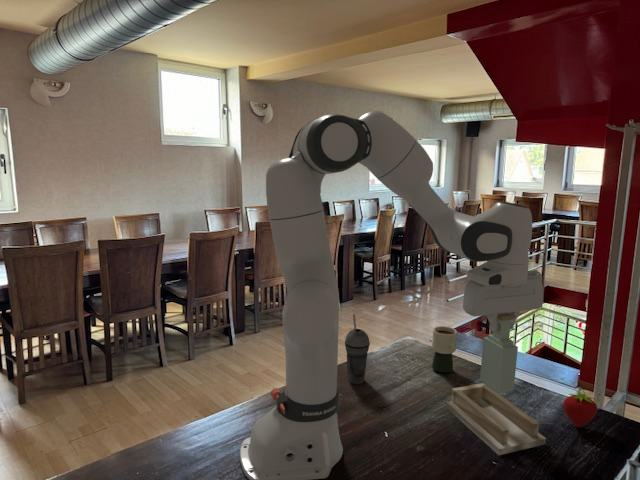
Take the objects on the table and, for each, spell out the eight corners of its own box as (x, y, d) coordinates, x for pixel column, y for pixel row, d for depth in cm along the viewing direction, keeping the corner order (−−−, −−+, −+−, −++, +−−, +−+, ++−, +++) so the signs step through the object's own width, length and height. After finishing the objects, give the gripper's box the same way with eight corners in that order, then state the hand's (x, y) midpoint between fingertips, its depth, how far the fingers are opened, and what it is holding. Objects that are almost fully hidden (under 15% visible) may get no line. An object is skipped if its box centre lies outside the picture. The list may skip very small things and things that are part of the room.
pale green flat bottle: (479, 379, 109) (485, 309, 106) (493, 376, 110) (499, 308, 107) (499, 393, 102) (506, 319, 99) (513, 390, 104) (520, 318, 100)
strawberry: (555, 419, 111) (560, 382, 109) (586, 420, 111) (591, 383, 109) (568, 433, 105) (573, 395, 103) (600, 434, 105) (605, 396, 103)
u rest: (498, 455, 97) (500, 434, 96) (445, 407, 115) (447, 389, 114) (545, 444, 101) (547, 424, 100) (486, 399, 119) (488, 382, 119)
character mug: (461, 377, 131) (465, 336, 129) (439, 379, 130) (442, 338, 127) (444, 361, 142) (447, 323, 139) (424, 363, 140) (426, 324, 138)
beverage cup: (367, 387, 124) (369, 320, 121) (341, 384, 126) (343, 318, 122) (369, 375, 132) (372, 311, 128) (345, 372, 133) (347, 309, 129)
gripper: (532, 266, 107) (526, 320, 110) (461, 272, 101) (456, 329, 103) (553, 272, 101) (546, 329, 104) (479, 279, 95) (474, 339, 98)
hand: (501, 329), depth 104 cm, fingers closed on pale green flat bottle, 3 cm apart
